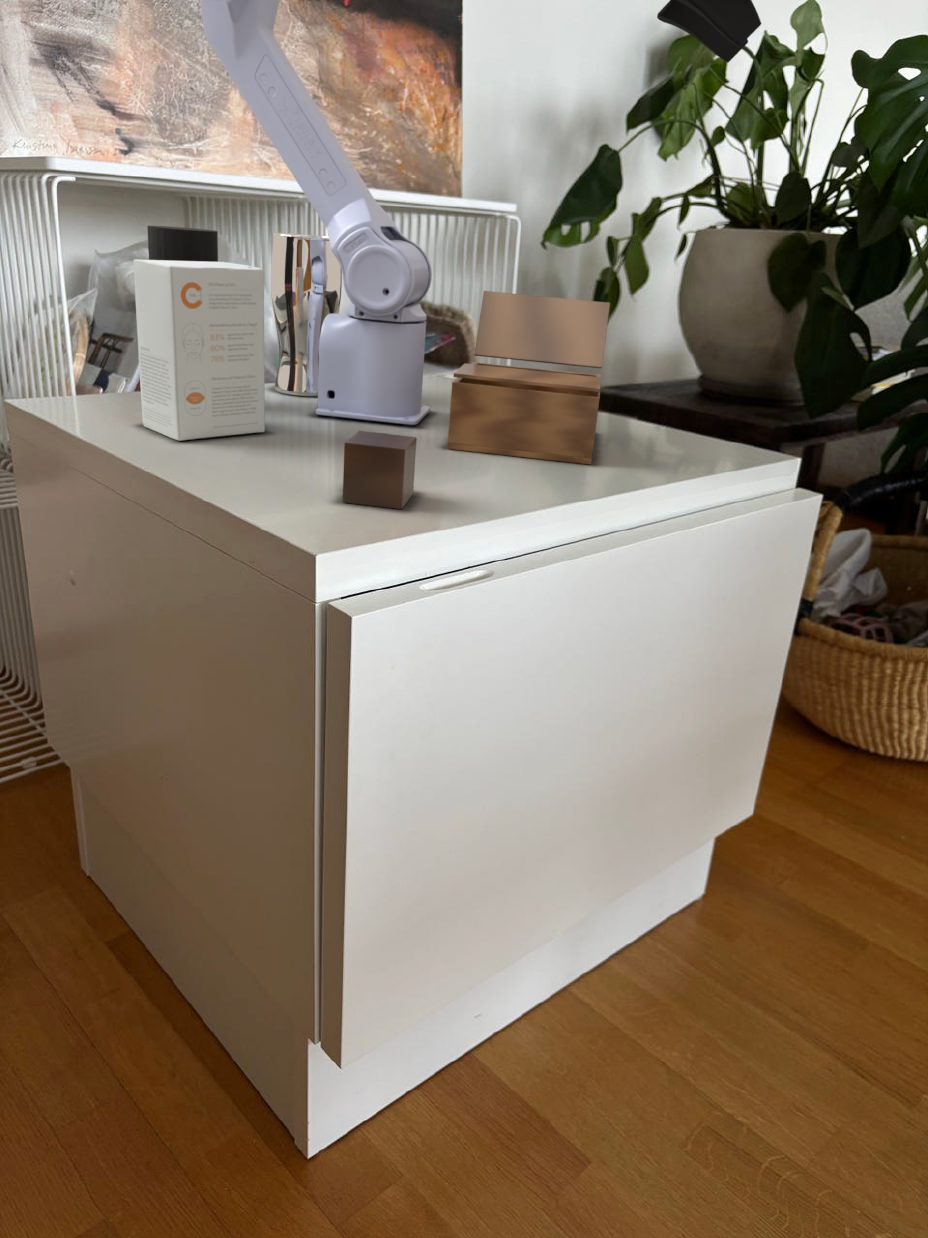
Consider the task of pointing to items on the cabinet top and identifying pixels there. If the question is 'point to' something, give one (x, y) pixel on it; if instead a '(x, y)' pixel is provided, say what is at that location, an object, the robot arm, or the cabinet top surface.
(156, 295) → the small box
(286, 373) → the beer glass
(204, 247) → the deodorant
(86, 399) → the cabinet top surface
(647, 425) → the cabinet top surface
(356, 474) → the block
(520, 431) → the wooden box
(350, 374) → the robot arm
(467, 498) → the cabinet top surface
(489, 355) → the flap
